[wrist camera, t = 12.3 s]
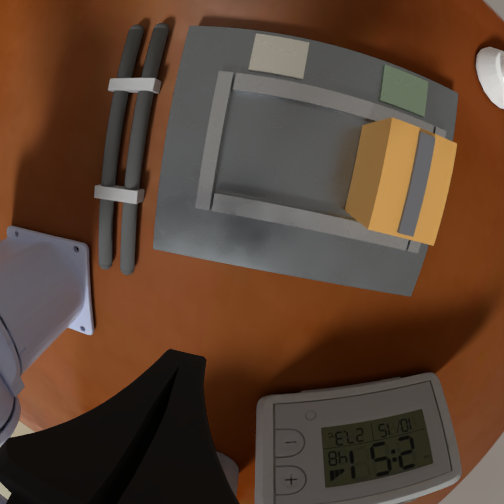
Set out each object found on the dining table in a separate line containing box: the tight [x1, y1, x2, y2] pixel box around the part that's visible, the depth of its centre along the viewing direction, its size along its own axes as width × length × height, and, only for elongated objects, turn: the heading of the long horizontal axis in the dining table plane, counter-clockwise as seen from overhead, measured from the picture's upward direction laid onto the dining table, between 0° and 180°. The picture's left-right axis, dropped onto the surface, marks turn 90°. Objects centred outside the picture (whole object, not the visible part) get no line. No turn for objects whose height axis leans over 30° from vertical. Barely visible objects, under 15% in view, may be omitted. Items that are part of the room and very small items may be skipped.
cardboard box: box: [345, 117, 457, 246], centre depth 13 cm, size 4×5×5 cm
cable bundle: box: [94, 23, 169, 275], centre depth 17 cm, size 3×17×1 cm, turn 170°
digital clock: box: [255, 372, 462, 504], centre depth 18 cm, size 16×9×11 cm, turn 85°
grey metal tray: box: [153, 26, 458, 297], centre depth 16 cm, size 17×14×2 cm
